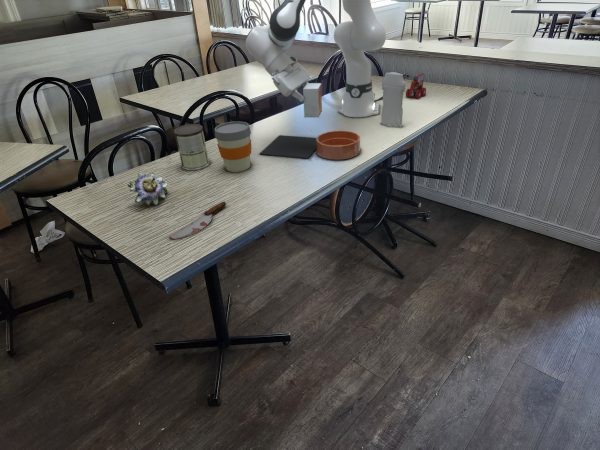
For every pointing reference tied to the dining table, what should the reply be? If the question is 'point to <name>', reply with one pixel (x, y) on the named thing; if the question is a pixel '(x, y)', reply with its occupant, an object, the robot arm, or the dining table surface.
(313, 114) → the small box
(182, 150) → the coffee can
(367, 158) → the dining table surface
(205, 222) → the kitchen knife
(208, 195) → the dining table surface
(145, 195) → the passion flower
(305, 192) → the dining table surface
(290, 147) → the mat
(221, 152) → the reusable coffee cup
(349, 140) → the bowl
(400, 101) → the tall pale column
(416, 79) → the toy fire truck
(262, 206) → the dining table surface
